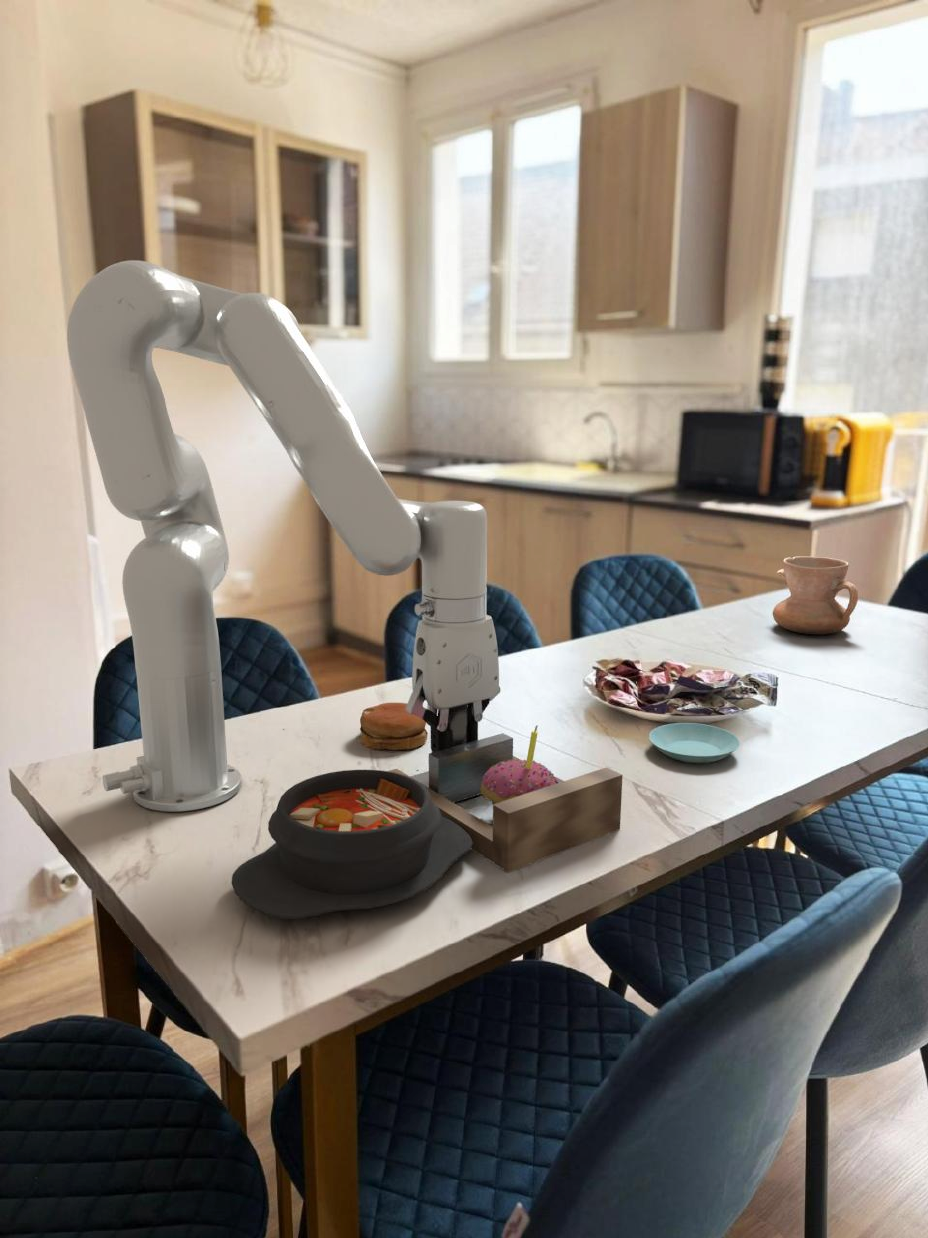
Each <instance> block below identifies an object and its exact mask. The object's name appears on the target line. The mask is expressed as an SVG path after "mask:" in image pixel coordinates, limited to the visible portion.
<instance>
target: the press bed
mask: <svg viewBox="0 0 928 1238" xmlns="http://www.w3.org/2000/svg"><path fill="white" fill-rule="evenodd" d="M513 760H522V759H520V758H518V757H516V756H515V755H513ZM386 771H387V772H393V773H398V774H401V775H404V776H408V777H410V775H408V774H406V773H405V772H403V771H402V770H400V769H399V768H393V769H391V770H386ZM554 777H555V778H556V780H557V779H558V781H557V782H558V783H557V784H554V785H551V786H548V787H545V788H542V789H539V790H536V791H533V792H530V793H527V794H524V795H521V796H518V797H514V798H511V799H508V800H505V801H502V802H499V803H496V804H492V825H491V824H489V823H487V822H486V821H484V820H482V818H481V819H480V818H479V817H478V816H476V815H474V814H472V813H471V812H469V811H468V810H466V809H464V808H463V807H461V806H460V805H458V804H456V803H455V802H454V803H453V802H451V801H449V800H448V799H446V798H445V797H443V796H441V795H440V794H438V793H436V792H435V791H433V790H431V789H430V788H428V787H426V786H425V785H424V786H425V788H426V789H427V790H428V791H429V794H430V796H431V799H432V801H433V802H434V803H435V804H436V805H437V807H438V808H439V810H440V813H441V816H443V817H445V818H447V819H449V820H451V821H453V822H455V823H456V824H458V825H459V826H460V827H462V828H463V829H464V830H465V831H466V832H467V833H468V834H469V835H470V837H471V839H472V842H473V844H472V848H471V850H473V851H474V852H475V853H477V854H479V855H480V856H481V857H483V858H485V859H487V861H489V862H491V864H493V865H495V866H497V867H498V868H500V869H502V870H503V871H504V872H506V873H511V872H512V871H515V870H518V869H520V868H523V867H525V866H528V865H531V864H533V863H534V864H535V863H536V862H539V861H541V860H544V859H546V858H549V857H552V856H554V855H557V854H560V853H561V852H562V853H563V852H565V851H567V850H569V849H572V848H574V847H577V846H580V845H583V844H586V843H588V842H590V841H593V840H596V839H598V838H601V837H603V836H606V835H608V833H609V834H611V833H614V832H617V831H619V830H620V829H621V816H622V814H621V813H622V795H623V794H622V793H623V774H622V773H619V772H617V771H615V770H614V769H611V768H609V767H606V766H605V767H603V768H600V769H597V770H594V771H592V772H588V773H584V774H583V775H579V776H575V777H573V778H569V779H567V780H563V779H561V778H558V777H557V776H555V775H554ZM410 778H412V777H410ZM412 779H413V778H412ZM414 780H415V779H414ZM416 781H417V780H416ZM419 783H420V782H419ZM422 785H423V784H422ZM616 830H617V831H616ZM610 832H611V833H610ZM530 863H531V864H530Z"/></svg>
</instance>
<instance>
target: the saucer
mask: <svg viewBox="0 0 928 1238" xmlns="http://www.w3.org/2000/svg"><path fill="white" fill-rule="evenodd" d="M648 739H649V741H650V742H651V743H652V745H653V746H654V747H656V749H658V750H659V752H661V753H663V754H664V755H666V756H667V757H669V758H672V759H674V760H676V761H680V762H682V763H683V762H684V763H688V764H689V763H690V764H707V763H713V762H716V761H719V760H722V759H724V758H727V756H729V755H730V754H733V753H734V752H735V751H736V750H737V749H738V748H739V747H740V744H741V743H740V739H739V738H738V736H736V735H735V734H734V733H733V732H730V731H729V730H727V729H724V728H721V727H718V726H714V725H708V724H704V723H695V722H677V723H668V724H664V725H660V726H658V727H655V728H653V729H652V730H651V731H650V732H649V735H648Z"/></svg>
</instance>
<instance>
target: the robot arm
mask: <svg viewBox="0 0 928 1238" xmlns="http://www.w3.org/2000/svg"><path fill="white" fill-rule="evenodd" d="M66 330H67V331H66V343H67V344H66V345H67V353H68V357H69V361H70V366H71V370H72V374H73V377H74V380H75V384H76V388H77V390H78V393H79V397H80V401H81V404H82V408H83V411H84V412H83V413H84V416H85V419H86V424H87V428H88V431H89V435H90V439H91V442H92V445H93V449H94V453H95V456H96V460H97V463H98V467H99V470H100V473H101V478H102V482H103V485H104V489H105V493H106V495H107V497H108V499H109V500H110V504H111V505H112V506H113V507H114V508H115V509H116V510H117V512H119V513H120V514H121V515H122V516H124V517H126V518H128V519H131V520H134V521H138V522H140V524H141V527H142V529H143V534H144V536H145V537H144V538H143V539H142V540H141V541H139V542H138V543H137V544H136V545H135V546H134V548H133V549H131V552H130V553H129V555H128V556H127V558H126V560H125V563H124V566H123V567H124V568H123V571H122V594H123V598H124V599H123V600H124V604H125V607H126V611H127V612H126V613H127V616H128V620H129V626H130V632H131V637H132V647H133V655H134V664H135V665H134V667H135V673H136V684H137V695H138V704H139V705H138V706H139V707H138V708H139V717H140V718H139V719H140V729H141V741H142V749H143V755H140V756H138V757H136V765H130V767H129V769H128V770H124V771H116V772H112V773H108V774H107V773H106V774H103V775H102V784H103V789H104V791H105V792H110V791H114V790H118V789H120V791H121V793H122V795H125V794H129V793H132V796H133V798H134V802H136V803H137V804H138V805H140V806H142V807H143V808H145V809H150V810H152V811H158V812H168V813H169V812H170V813H174V812H177V813H178V812H189V811H195V810H201V809H205V808H209V807H213V806H216V805H218V804H220V803H223V802H225V801H227V800H230V798H233V796H235V795H236V794H237V793H238V792H239V791H240V790H241V787H242V781H243V780H242V774H241V772H240V771H239V770H238V769H237V768H235V767H234V766H232V765H230V764H228V754H227V741H226V740H227V736H226V724H225V723H226V722H225V709H224V696H223V695H224V694H223V677H222V676H223V675H222V662H221V651H220V650H221V649H220V638H219V630H218V626H217V625H218V623H217V619H216V618H217V617H216V613H215V607H214V595H213V594H214V591H215V590H216V589H217V587H218V586H220V585H221V582H223V580H224V578H225V576H226V574H227V572H228V568H229V562H230V558H229V557H230V554H229V547H228V543H227V539H226V535H225V530H224V526H223V523H222V519H221V515H220V511H219V508H218V503H217V500H216V497H215V492H214V489H213V486H212V482H211V477H210V474H209V471H208V468H207V466H206V463H205V460H204V459H203V457H202V455H201V454H200V452H199V451H198V449H197V448H196V447H195V446H194V444H192V443H191V442H190V441H189V440H187V439H186V438H185V437H183V436H181V435H179V434H176V433H175V432H174V428H173V426H172V423H171V420H170V416H169V412H168V409H167V405H166V404H167V403H166V398H165V396H164V392H163V390H162V389H163V388H162V386H161V384H160V381H159V378H158V376H157V374H156V371H155V369H154V366H153V365H154V363H153V350H154V349H161V350H165V351H170V352H175V353H178V354H182V355H187V356H191V357H194V358H198V359H201V360H205V361H207V362H212V363H216V364H220V365H223V366H227V367H229V368H230V370H231V371H232V373H233V374H234V375H235V377H236V378H237V380H238V381H239V384H241V386H242V387H243V389H244V391H245V392H246V393H247V394H248V396H249V398H250V399H251V400H252V402H253V403H254V405H255V406H256V408H257V409H258V410H259V412H260V413H261V415H262V417H263V418H264V419H265V421H266V422H267V423H268V426H269V427H270V428H271V430H272V431H273V433H274V434H275V436H276V437H277V439H278V440H279V441H280V443H281V445H282V447H283V448H284V449H285V451H286V453H287V455H288V456H289V459H290V461H291V463H292V464H293V465H294V466H293V467H294V468H295V469H296V471H297V472H298V473H299V475H300V477H301V478H302V480H303V481H304V483H305V485H306V486H307V488H308V490H309V491H310V493H311V495H312V497H313V498H314V500H315V502H316V503H317V505H318V506H319V508H320V510H321V511H322V513H323V515H324V516H325V517H326V519H327V521H328V522H329V524H331V527H332V529H334V531H335V532H336V534H337V535H338V536H339V538H340V540H341V542H343V544H344V545H345V547H346V548H347V550H348V552H350V554H351V555H352V557H353V558H354V560H355V561H356V562H358V563H357V564H359V565H361V567H362V568H364V569H365V570H366V571H368V572H369V573H372V574H375V575H378V576H384V577H389V576H390V577H391V576H396V575H398V574H402V573H403V572H405V571H406V570H408V569H409V568H410V567H411V566H413V564H414V563H415V561H416V560H417V559H420V560H421V578H422V579H421V580H422V581H421V583H422V584H421V602H420V603H416V604H415V606H414V613H415V614H416V616H421V617H422V619H420V620H418V623H417V628H416V632H415V637H414V644H413V646H414V647H413V654H412V667H411V668H412V669H411V670H412V671H411V672H412V674H411V675H412V676H411V677H412V679H411V687H412V693H411V695H410V697H409V699H408V701H407V706H406V711H407V712H408V713H410V714H412V715H415V716H417V717H420V718H422V719H423V720H424V721H425V722H426V725H427V726H430V750H431V753H433V752H436V751H440V750H444V749H447V748H451V731H450V730H449V729H447V723H448V713H449V708H453V707H457V706H461V705H465V704H468V743H469V742H473V741H476V740H479V722H481V721H482V720H483V717H484V715H483V713H484V712H485V711H486V708H488V706H489V704H490V702H491V701H492V700H494V699H495V698H496V697H497V696H498V695H499V694H500V693H501V687H500V668H499V667H500V666H499V662H500V661H499V649H498V641H497V635H496V629H495V625H494V622H493V618H492V616H491V615H488V614H487V597H488V595H487V590H488V589H487V588H488V587H487V584H488V583H487V579H488V577H487V575H488V573H487V572H488V568H487V567H488V564H487V563H488V562H487V561H488V515H487V512H486V509H485V508H484V506H483V505H481V504H480V503H477V502H474V501H467V500H443V501H440V500H439V501H434V502H426V501H425V502H424V501H416V500H415V501H414V500H408V499H402V498H397V496H396V495H395V494H396V493H394V491H393V490H392V488H391V487H390V485H389V484H388V482H387V481H386V479H385V477H384V476H383V474H382V473H381V471H380V470H379V467H378V466H377V464H376V463H375V461H374V459H373V457H372V456H371V454H370V451H369V450H368V448H367V446H366V443H365V442H364V440H363V437H362V435H361V432H360V429H359V425H358V422H357V419H356V418H355V416H354V414H353V411H352V410H351V408H350V406H349V404H348V402H347V401H346V399H345V397H344V396H343V395H342V394H341V392H340V390H339V389H338V388H337V386H336V384H335V383H334V381H333V380H332V379H331V377H330V376H329V374H328V373H327V371H326V370H325V368H324V367H323V366H322V364H321V362H320V361H319V359H318V358H317V356H316V355H315V353H314V351H313V349H312V348H311V347H310V345H309V343H308V342H307V340H306V339H305V337H304V336H303V334H302V333H301V328H300V325H299V323H298V320H297V318H296V317H295V315H294V314H293V312H292V311H291V310H290V309H289V308H288V307H287V306H286V305H285V304H283V303H282V302H280V301H278V300H276V298H273V297H271V296H270V295H268V294H264V293H259V292H246V293H242V292H237V291H234V290H230V289H227V288H223V287H220V286H216V285H212V284H210V283H205V282H202V281H198V280H195V279H192V278H189V277H186V276H182V275H180V274H177V273H175V272H173V271H171V270H169V269H167V268H165V267H162V266H161V265H158V264H155V263H153V262H148V261H146V260H145V261H144V260H136V259H135V260H132V259H130V260H125V261H119V262H116V263H114V264H111V265H109V266H107V267H105V268H104V269H102V270H101V271H99V272H98V273H96V274H95V275H94V276H93V277H92V278H91V279H90V280H89V281H87V283H86V284H85V285H84V286H83V287H82V289H81V290H80V291H79V293H78V294H77V297H76V298H75V300H74V302H73V304H72V307H71V309H70V314H69V316H68V321H67V329H66ZM425 701H426V703H427V705H426V707H424V702H425Z"/></svg>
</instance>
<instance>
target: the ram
mask: <svg viewBox="0 0 928 1238" xmlns="http://www.w3.org/2000/svg"><path fill="white" fill-rule="evenodd" d="M447 729H449V730H450V731H451V748H447V749H444V750H440V751H436V752H433V753H432V752H430V753H428V771H426V772H425V771H424V772H421V773H417V774H415V775H414V774H413V775H411V776H410V775H409V776H410V777H412V778H413V779H415V780H417V781H418V782H420V783H421V784H423V785H425V786H426V787H428V788H430V789H431V790H433V791H435V792H436V793H438V794H440V795H441V796H443V797H445V798H446V799H448V800H449V801H451V802H453V803H454V804H455V803H457V802H460V801H463V800H466V799H469V798H472V797H476V796H479V795H482V793H481V784H482V781H483V776H484V775H485V773H486V772H487V771H486V770H488V769H489V768H491V767H492V766H493V765H496V764H498V763H499V762H502V761H506V760H509V759H510V760H511V761H512V760H513V756H514V737H511V736H510V735H508V734H505V733H500V734H495V735H491V736H489V737H488V736H487V737H484V738H481V739H478V740H476V741H473V742H469V743H468V704H465V705H461V706H457V707H453V708H449V713H448V723H447ZM510 760H509V761H510Z"/></svg>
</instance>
